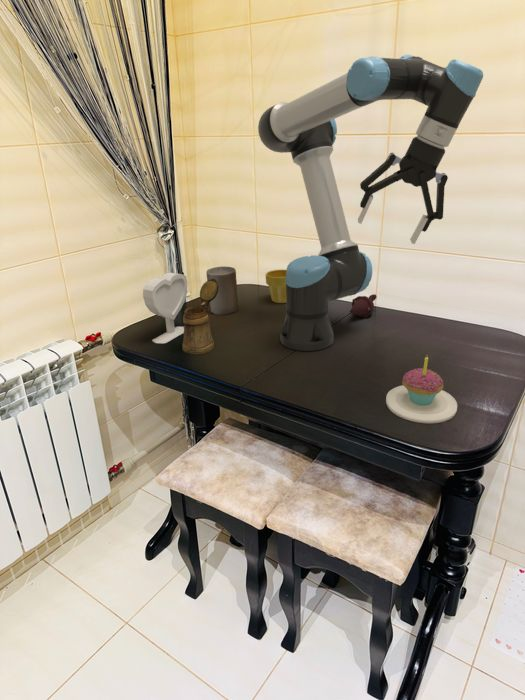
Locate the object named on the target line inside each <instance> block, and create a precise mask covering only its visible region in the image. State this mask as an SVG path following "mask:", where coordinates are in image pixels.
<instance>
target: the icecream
mask: <svg viewBox="0 0 525 700" xmlns="http://www.w3.org/2000/svg"><path fill="white" fill-rule="evenodd" d="M375 300H377V295H376V294H371V295H369V296H366V295H358V296H357V297H355V298H353V299H352V300H351V309H349V310H350V311H349V313H351V314H355V315H356V316H357V317H359V318H364V319H365V318H367V317H369V316H370V315H372V312H373V311H374V309H375V303H374V301H375Z"/></svg>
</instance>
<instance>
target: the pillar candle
mask: <svg viewBox="0 0 525 700" xmlns="http://www.w3.org/2000/svg"><path fill="white" fill-rule="evenodd" d="M205 273H206V280H207V281H208V280H210V279H213V278H214V279H215V280H216V281H217V283H218V286H219V289H218V293H217V296H216V297H215V299H213V300H212V301H211V302H210V303H209V304H210V307H211V314H212V313H213V314H214V315H219V316H224V315H230V314H234V313H236V312H237V311H239V299H238V283H237V282H238V281H237V271H236V268H235V267H232V266H216V267H212V268H209V269H207V270H206V272H205Z"/></svg>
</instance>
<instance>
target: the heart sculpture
mask: <svg viewBox="0 0 525 700" xmlns="http://www.w3.org/2000/svg"><path fill="white" fill-rule="evenodd" d="M142 289H143V290H142V297H143V300H144V305H145V307H146V308H147V309H148V311H149V312H151V313H152V314H154V315H155V316H159V317H162V318H164V319H165V326H166V327H165V328H166V332H164V333H163V334H160V335H159V336H157V337H155V338H153V339H152V340H151V341H152V342H153V343H155V344H167V343H168V342H170V341H172V340H174V339H175V338H177V337H178V336H181V335H182V334H184V326H175V321H174V320H175V319H176V317H177V316H178V314H179V312H180V311H181V309H182V307H183V305H184V303H185V301H186V298H187V294H188V279H187V276H186V275H185V274H182V273H177V272H176V273H175V272H167V273H164V274H162V276H161V278H160V277H159V278H158V277H154V278H152V279H150V280H149V281H148V282H147V283H146V284H145V285H144V287H143V288H142Z"/></svg>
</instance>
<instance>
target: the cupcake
mask: <svg viewBox="0 0 525 700" xmlns="http://www.w3.org/2000/svg"><path fill="white" fill-rule="evenodd" d="M428 363H429V357H428V354H426V357H424V363H423V367H419V368H414V369H411V370H409V371H406V372H405V373H404V375H403V377H402V381H401V382H402V383H401V384H402V385H404V386H405V388H407V390H408V393H409V397H410V400H411V402H413V403H414V404H417V405H422V406H425V405H430V404H431V403H432V402H433V400H434V398H435V396H436V395H437V394H438V393H439V392H440V391H441V390H443V389H444V380H443V378H442V376H440V374H439V373H437V372H435V371H433V370H431V369H429V368H428Z"/></svg>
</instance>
